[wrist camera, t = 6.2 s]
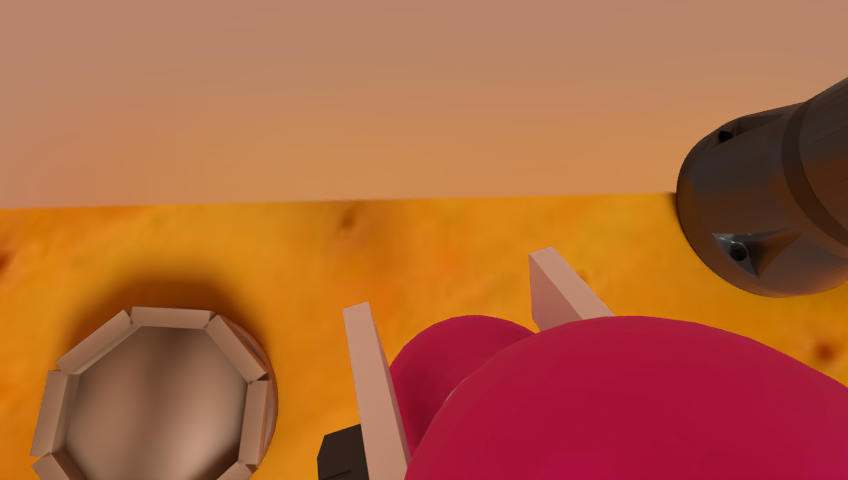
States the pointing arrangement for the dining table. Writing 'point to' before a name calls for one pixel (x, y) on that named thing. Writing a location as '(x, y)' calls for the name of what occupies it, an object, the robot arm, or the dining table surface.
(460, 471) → the pepper mill
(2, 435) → the dining table surface
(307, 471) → the dining table surface
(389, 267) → the dining table surface
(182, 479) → the bowl
